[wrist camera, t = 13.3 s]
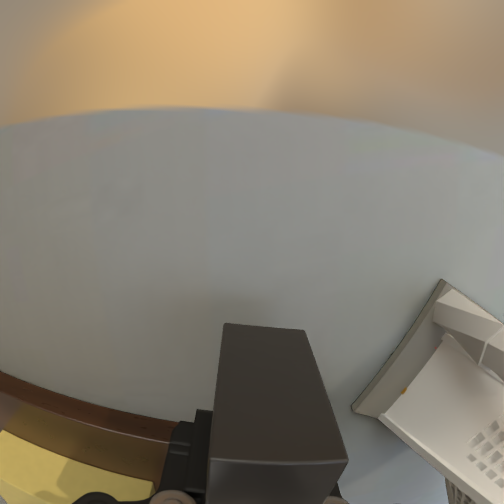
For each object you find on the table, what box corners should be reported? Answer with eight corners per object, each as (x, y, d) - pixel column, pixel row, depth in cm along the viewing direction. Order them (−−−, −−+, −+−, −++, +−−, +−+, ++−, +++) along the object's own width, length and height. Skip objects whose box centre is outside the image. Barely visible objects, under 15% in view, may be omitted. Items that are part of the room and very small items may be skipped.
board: (-43, 349, 12) (-56, 360, 11) (321, 431, 13) (327, 453, 12) (11, 465, 15) (4, 476, 14) (277, 527, 16) (278, 542, 15)
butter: (2, 428, 12) (-24, 464, 9) (153, 481, 12) (141, 533, 9) (25, 469, 13) (6, 503, 10) (160, 514, 14) (152, 558, 10)
